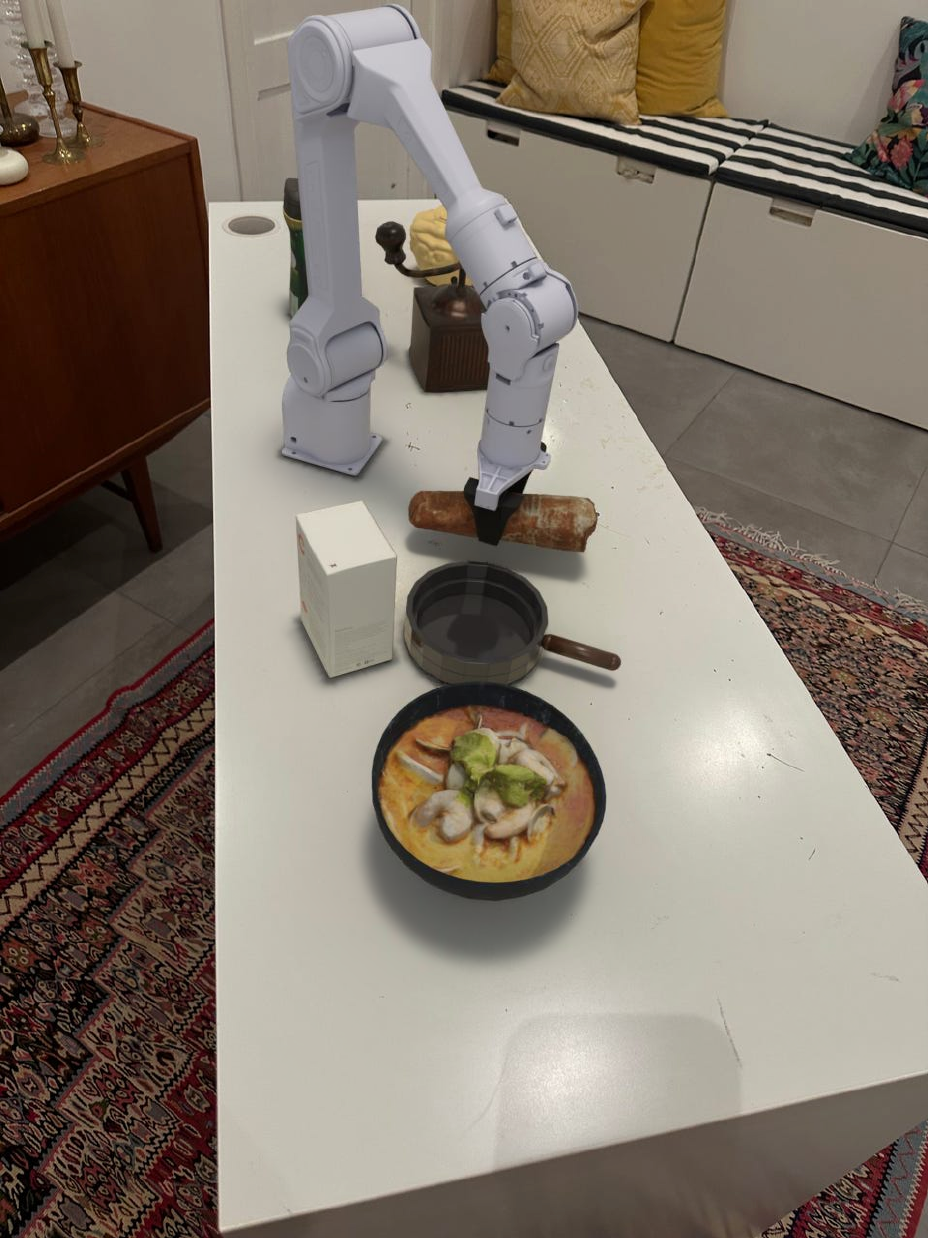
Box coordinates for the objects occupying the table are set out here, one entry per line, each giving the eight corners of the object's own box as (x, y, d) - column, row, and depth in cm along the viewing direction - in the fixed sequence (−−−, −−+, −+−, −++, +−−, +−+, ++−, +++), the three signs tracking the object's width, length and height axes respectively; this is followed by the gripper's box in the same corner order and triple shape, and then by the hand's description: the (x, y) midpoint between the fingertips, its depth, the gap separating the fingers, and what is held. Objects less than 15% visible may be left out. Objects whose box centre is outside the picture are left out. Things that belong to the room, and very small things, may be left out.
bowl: (417, 978, 61) (426, 915, 53) (340, 780, 71) (339, 706, 64) (624, 895, 66) (657, 829, 59) (525, 724, 77) (543, 649, 70)
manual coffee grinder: (479, 346, 122) (495, 214, 109) (501, 389, 114) (520, 254, 101) (370, 351, 118) (372, 215, 105) (385, 395, 111) (389, 256, 98)
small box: (393, 660, 80) (399, 556, 71) (328, 680, 78) (325, 575, 69) (361, 602, 85) (363, 497, 76) (299, 618, 83) (292, 513, 74)
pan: (383, 665, 80) (384, 636, 77) (432, 575, 89) (435, 546, 86) (519, 710, 78) (526, 681, 75) (556, 612, 87) (563, 584, 84)
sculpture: (396, 279, 133) (399, 207, 125) (442, 255, 140) (447, 185, 132) (457, 305, 129) (464, 232, 121) (501, 279, 136) (510, 208, 129)
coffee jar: (351, 301, 127) (351, 166, 114) (363, 328, 122) (364, 190, 108) (284, 305, 124) (276, 167, 111) (294, 332, 119) (286, 192, 106)
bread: (587, 566, 88) (599, 524, 84) (403, 538, 89) (406, 495, 85) (588, 527, 93) (599, 485, 89) (413, 500, 93) (416, 457, 89)
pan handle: (537, 651, 80) (540, 640, 79) (542, 639, 82) (544, 628, 80) (617, 676, 79) (620, 665, 78) (620, 664, 80) (624, 652, 79)
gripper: (536, 463, 74) (515, 577, 84) (575, 382, 84) (552, 492, 94) (459, 442, 75) (446, 557, 85) (506, 364, 85) (490, 475, 95)
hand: (497, 522), depth 90 cm, fingers closed on bread, 6 cm apart
